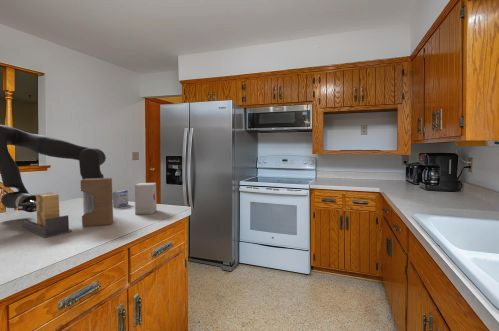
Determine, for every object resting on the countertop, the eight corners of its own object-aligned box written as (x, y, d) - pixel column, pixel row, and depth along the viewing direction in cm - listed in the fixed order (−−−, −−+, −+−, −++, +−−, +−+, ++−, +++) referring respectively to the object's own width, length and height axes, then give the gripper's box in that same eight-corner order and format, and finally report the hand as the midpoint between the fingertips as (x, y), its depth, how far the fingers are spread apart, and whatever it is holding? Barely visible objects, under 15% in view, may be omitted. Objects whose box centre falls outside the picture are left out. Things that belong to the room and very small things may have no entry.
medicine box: (119, 207, 153) (119, 192, 153) (112, 207, 154) (112, 191, 154) (128, 204, 161) (128, 190, 161) (121, 204, 162) (121, 189, 162)
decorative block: (81, 227, 115) (79, 180, 113) (86, 223, 120) (84, 178, 119) (110, 225, 117) (108, 179, 116) (113, 221, 123) (112, 177, 122)
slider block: (37, 228, 110) (35, 194, 109) (51, 225, 114) (50, 192, 113) (45, 231, 105) (43, 196, 104) (60, 228, 109) (58, 194, 109)
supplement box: (153, 214, 137) (152, 184, 136) (134, 214, 136) (134, 185, 135) (157, 210, 146) (156, 182, 145) (139, 210, 145) (138, 182, 144)
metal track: (21, 227, 115) (20, 211, 114) (46, 222, 122) (45, 207, 122) (44, 237, 101) (43, 220, 100) (71, 231, 108) (70, 215, 108)
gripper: (9, 196, 116) (23, 200, 106) (45, 192, 126) (61, 196, 117) (10, 213, 116) (24, 219, 106) (46, 208, 127) (62, 213, 117)
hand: (43, 207), depth 111 cm, fingers closed
